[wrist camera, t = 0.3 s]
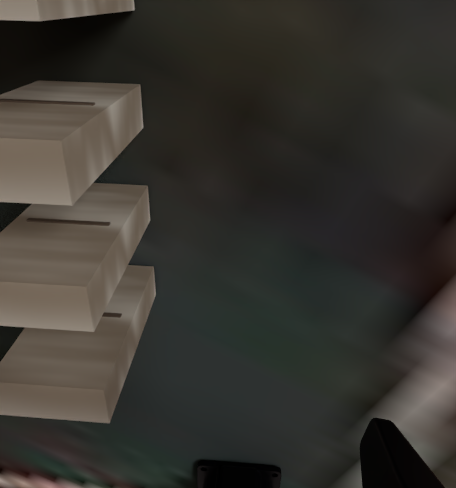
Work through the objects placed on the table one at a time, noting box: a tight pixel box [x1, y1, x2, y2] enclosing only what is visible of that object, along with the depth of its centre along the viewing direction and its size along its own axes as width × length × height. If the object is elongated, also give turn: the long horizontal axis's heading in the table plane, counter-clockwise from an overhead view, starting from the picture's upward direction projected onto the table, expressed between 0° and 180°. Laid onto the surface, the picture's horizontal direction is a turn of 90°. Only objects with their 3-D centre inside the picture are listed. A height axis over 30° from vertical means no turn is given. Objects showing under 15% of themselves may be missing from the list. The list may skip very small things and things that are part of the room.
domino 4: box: [0, 81, 143, 206], centre depth 17 cm, size 2×5×9 cm, turn 89°
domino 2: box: [0, 265, 156, 423], centre depth 22 cm, size 2×5×9 cm, turn 89°
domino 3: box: [0, 183, 150, 332], centre depth 19 cm, size 2×5×9 cm, turn 89°
